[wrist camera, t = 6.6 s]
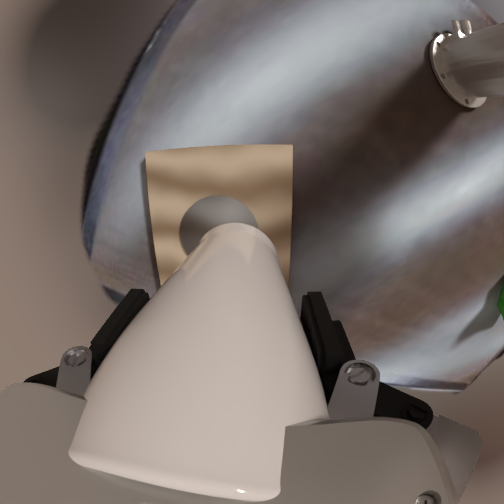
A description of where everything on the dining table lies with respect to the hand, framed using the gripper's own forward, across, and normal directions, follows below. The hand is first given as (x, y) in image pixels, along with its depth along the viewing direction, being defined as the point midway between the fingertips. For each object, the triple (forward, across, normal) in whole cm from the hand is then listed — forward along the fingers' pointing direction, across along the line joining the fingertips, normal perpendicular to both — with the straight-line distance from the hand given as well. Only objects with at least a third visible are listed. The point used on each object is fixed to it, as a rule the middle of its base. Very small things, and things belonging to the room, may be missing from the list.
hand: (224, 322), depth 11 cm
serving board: (+24, +4, +4) cm, 25 cm away
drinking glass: (+7, 0, 0) cm, 7 cm away
